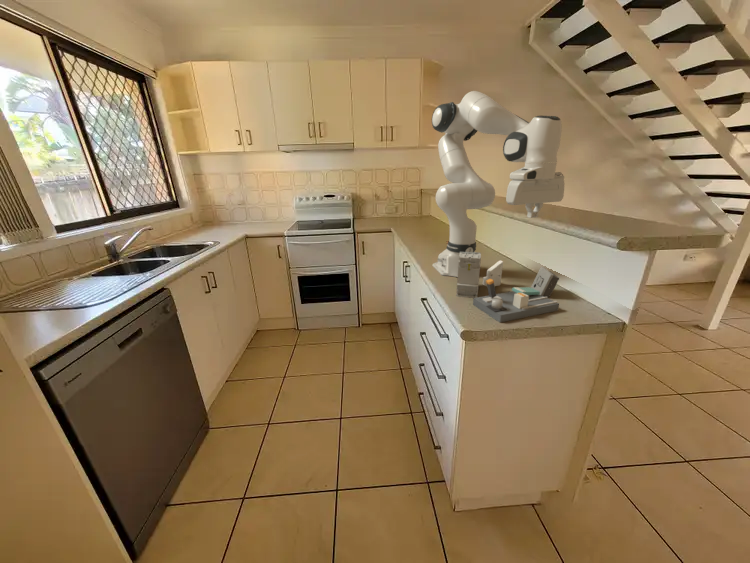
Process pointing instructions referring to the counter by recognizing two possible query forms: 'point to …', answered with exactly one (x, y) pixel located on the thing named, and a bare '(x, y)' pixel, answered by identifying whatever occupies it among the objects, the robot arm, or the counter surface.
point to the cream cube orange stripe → (520, 300)
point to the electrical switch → (545, 282)
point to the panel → (510, 312)
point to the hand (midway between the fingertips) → (532, 217)
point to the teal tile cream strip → (526, 290)
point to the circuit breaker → (468, 274)
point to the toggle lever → (491, 288)
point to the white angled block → (494, 273)
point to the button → (497, 303)
